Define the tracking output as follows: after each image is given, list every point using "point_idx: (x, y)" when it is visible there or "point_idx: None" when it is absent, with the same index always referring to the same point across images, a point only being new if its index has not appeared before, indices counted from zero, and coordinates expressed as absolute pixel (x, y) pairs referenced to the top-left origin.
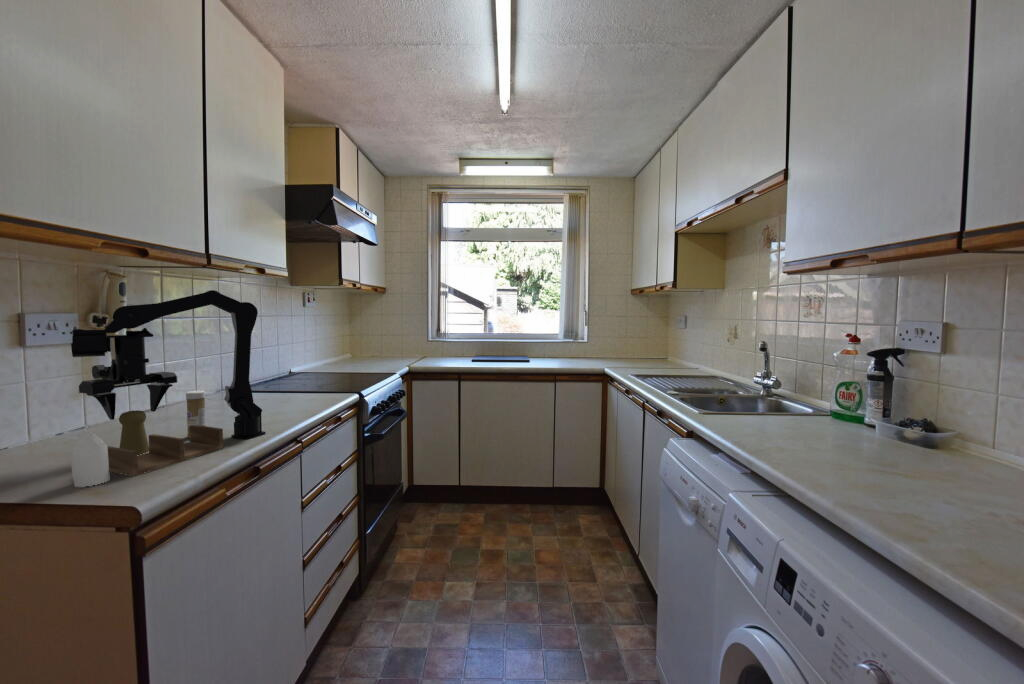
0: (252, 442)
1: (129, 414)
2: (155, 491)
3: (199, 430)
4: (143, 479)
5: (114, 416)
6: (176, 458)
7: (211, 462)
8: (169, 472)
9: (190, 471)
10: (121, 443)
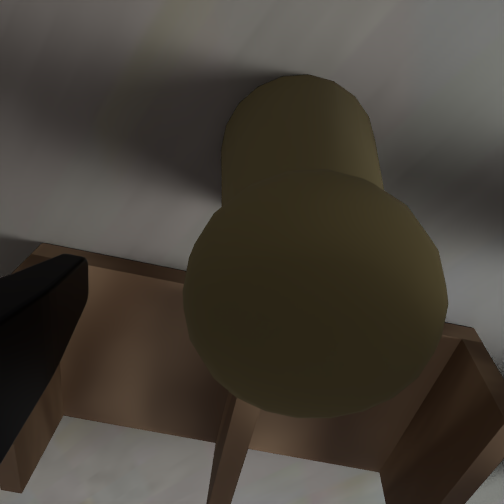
0: (480, 497)
1: (219, 380)
2: (15, 501)
3: (452, 456)
4: (53, 435)
5: (68, 337)
6: (206, 437)
7: (237, 496)
8: (125, 455)
9: (152, 492)
10: (225, 163)
